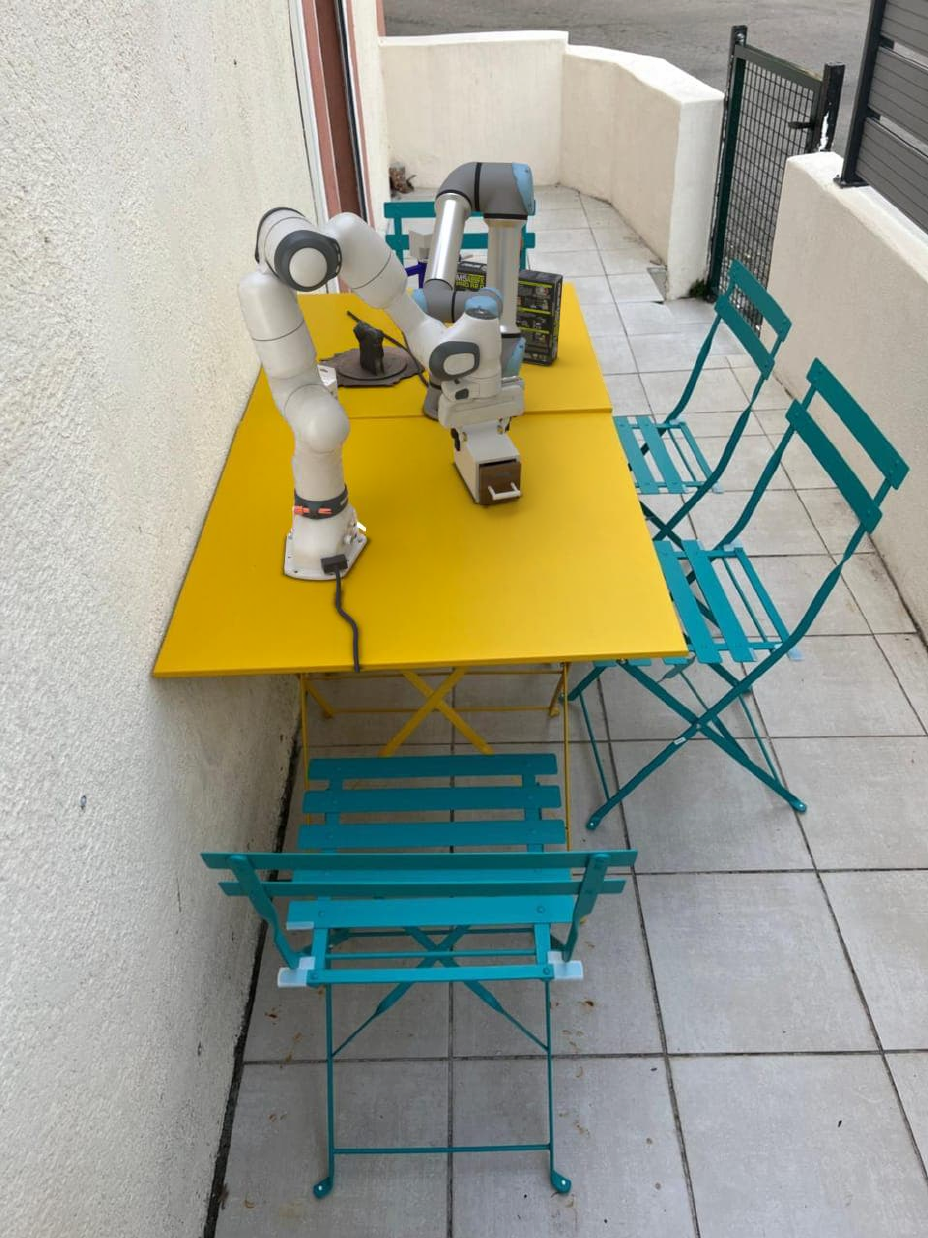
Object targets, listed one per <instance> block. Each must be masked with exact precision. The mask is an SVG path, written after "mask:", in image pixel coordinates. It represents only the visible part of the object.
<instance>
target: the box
mask: <svg viewBox="0 0 928 1238" xmlns="http://www.w3.org/2000/svg"><path fill="white" fill-rule="evenodd" d="M486 274H487V263H483V262H477V261H470V260H461V262H459V263H458V268H457V273H456V279H455V285H454V291H466V292H478V291H479V290H480V289H482V288H484V287H486ZM563 279H564V275H563V274H561V273H553V272H547V271H540V270H534V269H526V268H520V267H519V275H518V293H517V310H516V326H517V327H518V328H519V329H520V330H521V336H520V337H523V338H524V339H525V340H526V343H525V350H524V356H523V361H522V363H530V364H535V365H541V366H548V367H550V366H551V365H552V364H553V363H554V362H555V360H556V359H557V358H558V351H559V350H558V349H559V335H560V321H561V306H562V293H563V292H562V291H563V283H564V282H563V281H564V280H563Z"/></svg>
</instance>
